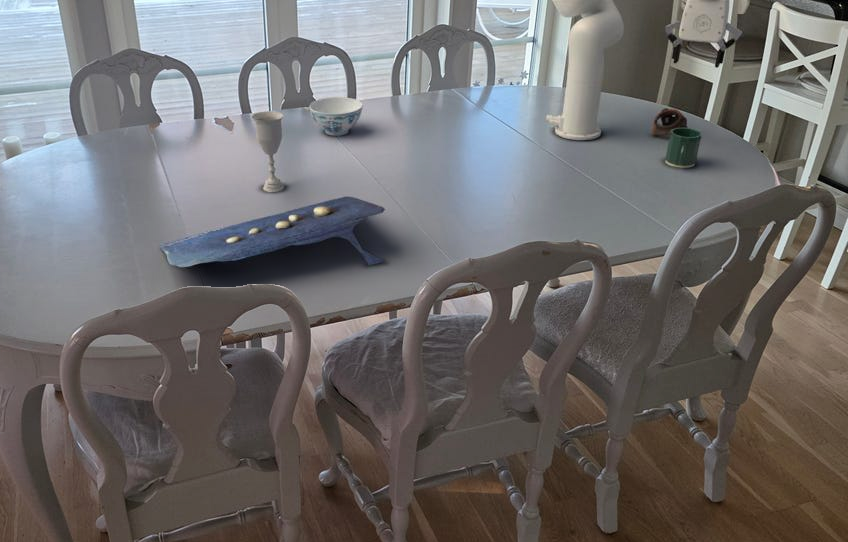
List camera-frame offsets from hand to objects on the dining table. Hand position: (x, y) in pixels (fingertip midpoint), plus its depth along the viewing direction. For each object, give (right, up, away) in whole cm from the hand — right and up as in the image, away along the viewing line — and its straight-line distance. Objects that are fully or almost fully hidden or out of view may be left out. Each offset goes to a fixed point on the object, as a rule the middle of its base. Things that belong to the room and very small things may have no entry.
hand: (696, 64), depth 192 cm
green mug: (-1, -23, +8) cm, 25 cm away
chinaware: (-90, -9, +33) cm, 96 cm away
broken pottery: (+4, -11, +27) cm, 30 cm away
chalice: (-104, -31, 0) cm, 108 cm away
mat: (-100, -48, -28) cm, 115 cm away
